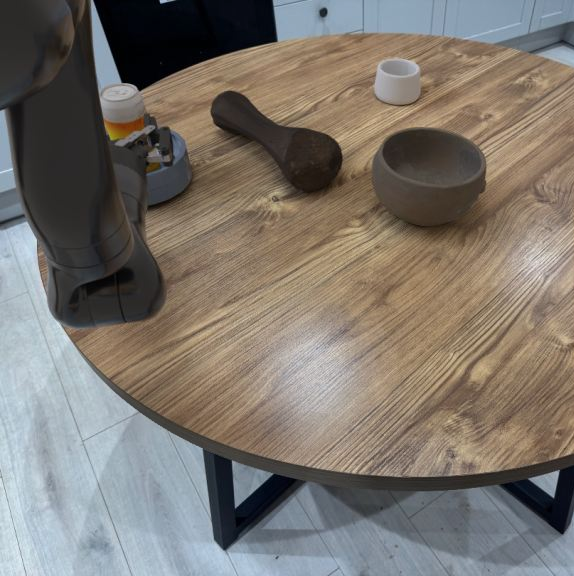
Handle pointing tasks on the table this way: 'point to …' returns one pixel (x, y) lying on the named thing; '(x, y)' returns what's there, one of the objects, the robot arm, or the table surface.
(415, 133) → the bowl
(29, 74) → the robot arm
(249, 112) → the dark brown pestle
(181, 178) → the blue bowl
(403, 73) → the white tapered round piece
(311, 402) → the table surface
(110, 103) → the beer can
